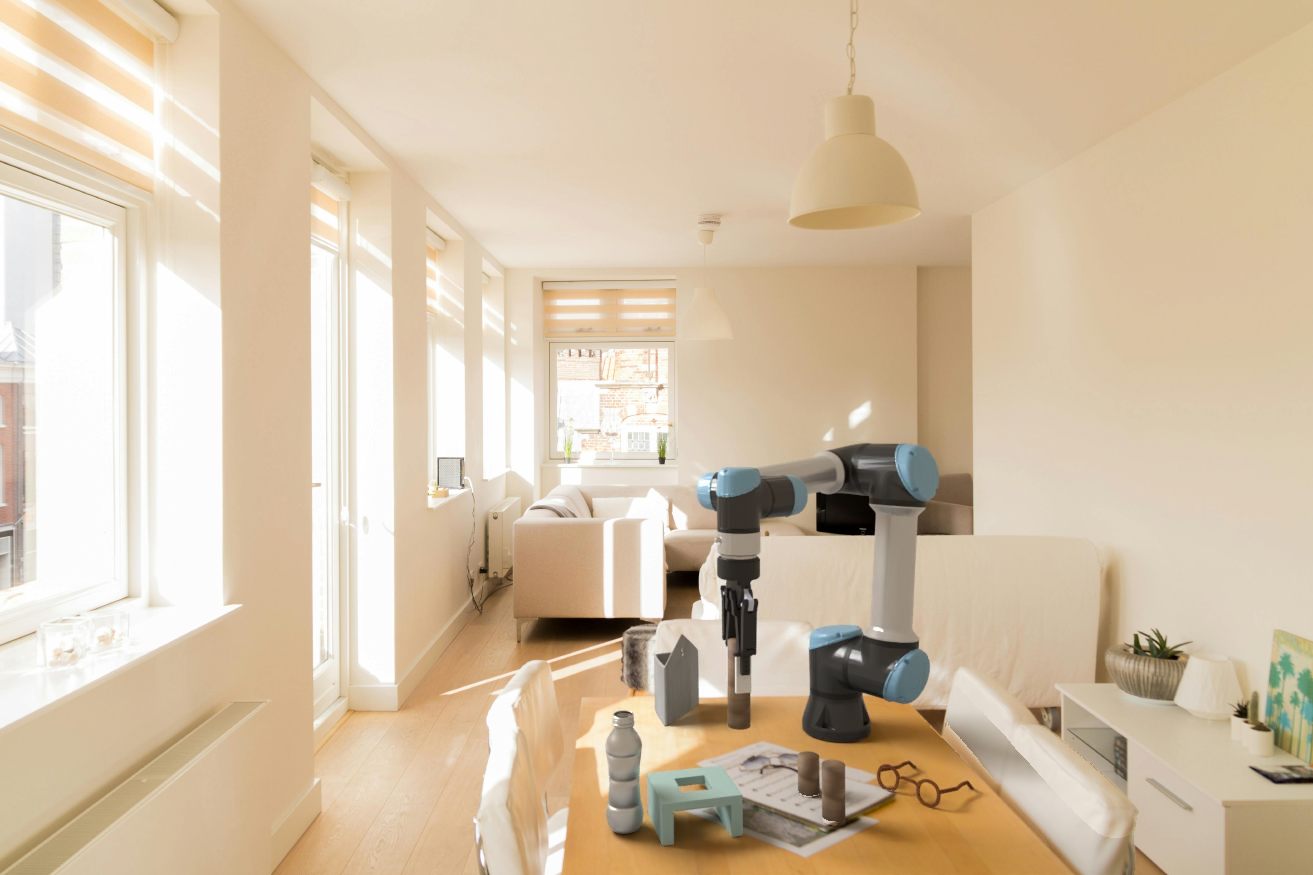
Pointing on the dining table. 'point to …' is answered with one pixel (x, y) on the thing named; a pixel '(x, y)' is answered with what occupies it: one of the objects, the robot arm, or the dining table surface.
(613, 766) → the plastic bottle
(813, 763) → the pin short
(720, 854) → the dining table surface
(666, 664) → the planter
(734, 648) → the pin long
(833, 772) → the pin medium
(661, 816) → the bridge
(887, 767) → the glasses
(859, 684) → the robot arm
